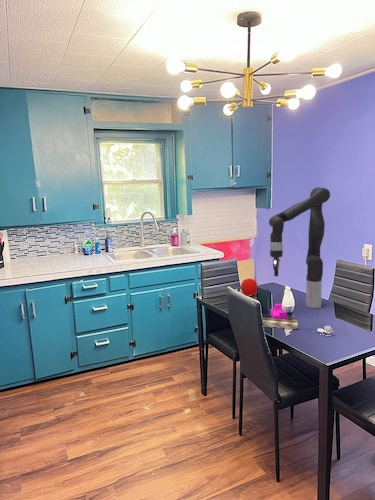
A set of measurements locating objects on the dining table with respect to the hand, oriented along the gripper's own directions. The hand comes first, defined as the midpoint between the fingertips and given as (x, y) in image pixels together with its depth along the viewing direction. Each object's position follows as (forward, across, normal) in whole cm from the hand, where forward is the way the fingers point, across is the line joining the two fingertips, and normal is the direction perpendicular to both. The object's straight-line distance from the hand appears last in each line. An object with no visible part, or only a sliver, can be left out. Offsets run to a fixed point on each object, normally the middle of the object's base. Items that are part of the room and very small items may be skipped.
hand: (276, 276), depth 232 cm
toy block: (+22, -17, -3) cm, 28 cm away
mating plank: (+22, -28, -5) cm, 36 cm away
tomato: (+22, +24, +22) cm, 39 cm away
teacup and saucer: (+23, -27, -30) cm, 46 cm away
